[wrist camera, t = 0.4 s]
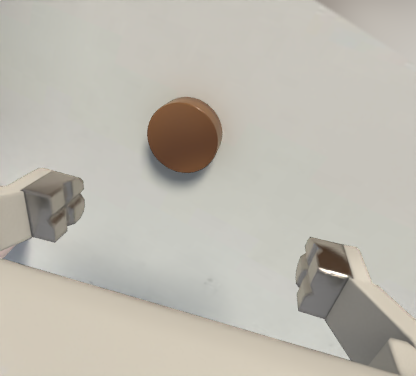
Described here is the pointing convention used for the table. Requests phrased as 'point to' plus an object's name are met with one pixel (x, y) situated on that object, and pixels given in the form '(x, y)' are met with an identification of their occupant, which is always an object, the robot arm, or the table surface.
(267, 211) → the table surface
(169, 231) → the table surface
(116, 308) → the robot arm
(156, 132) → the brown lid
